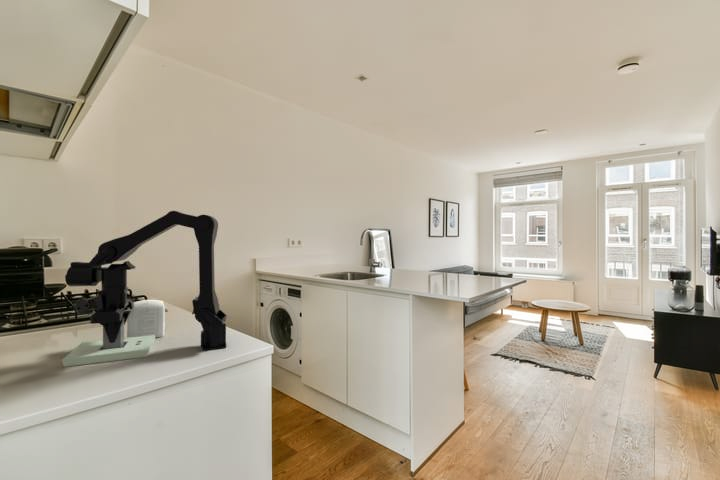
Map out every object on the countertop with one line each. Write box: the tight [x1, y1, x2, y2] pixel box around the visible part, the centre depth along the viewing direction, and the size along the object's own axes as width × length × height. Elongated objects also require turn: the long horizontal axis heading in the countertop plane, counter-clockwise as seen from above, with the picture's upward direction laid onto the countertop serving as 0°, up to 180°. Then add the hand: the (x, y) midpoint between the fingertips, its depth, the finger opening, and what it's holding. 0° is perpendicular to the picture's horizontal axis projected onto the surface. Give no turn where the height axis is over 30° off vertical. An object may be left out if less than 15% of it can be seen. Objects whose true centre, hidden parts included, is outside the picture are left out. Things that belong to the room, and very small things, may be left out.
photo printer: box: [126, 299, 166, 338], centre depth 105 cm, size 10×4×12 cm, turn 123°
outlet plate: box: [62, 335, 156, 368], centre depth 93 cm, size 18×16×2 cm
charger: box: [102, 321, 125, 350], centre depth 92 cm, size 4×4×8 cm
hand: (114, 340), depth 92 cm, fingers closed on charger, 4 cm apart
